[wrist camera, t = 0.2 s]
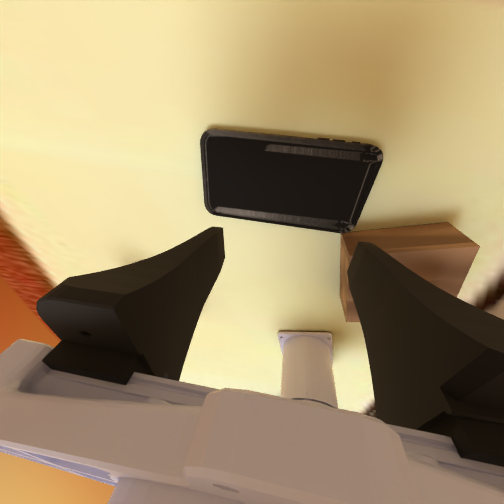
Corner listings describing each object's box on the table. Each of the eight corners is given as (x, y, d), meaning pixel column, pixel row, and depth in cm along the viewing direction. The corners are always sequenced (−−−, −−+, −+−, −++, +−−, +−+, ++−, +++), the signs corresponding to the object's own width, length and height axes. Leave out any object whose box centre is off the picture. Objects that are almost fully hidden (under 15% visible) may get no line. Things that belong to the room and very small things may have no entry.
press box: (424, 292, 23) (445, 322, 20) (339, 294, 26) (346, 321, 22) (447, 222, 18) (479, 246, 15) (341, 232, 21) (349, 255, 18)
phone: (351, 234, 20) (205, 214, 21) (349, 229, 21) (208, 209, 22) (389, 145, 15) (198, 126, 17) (384, 143, 16) (203, 125, 18)
